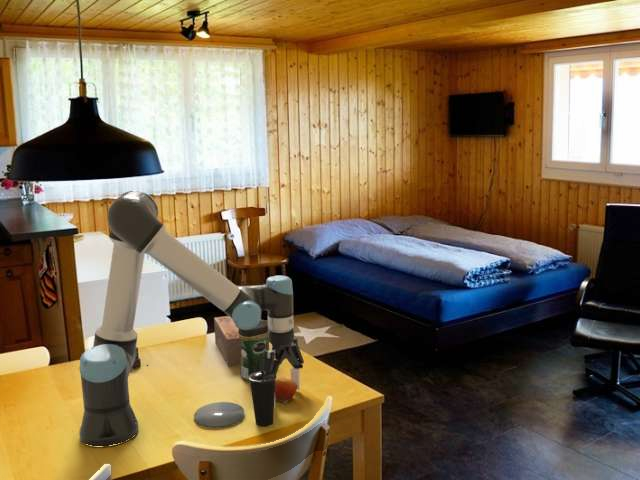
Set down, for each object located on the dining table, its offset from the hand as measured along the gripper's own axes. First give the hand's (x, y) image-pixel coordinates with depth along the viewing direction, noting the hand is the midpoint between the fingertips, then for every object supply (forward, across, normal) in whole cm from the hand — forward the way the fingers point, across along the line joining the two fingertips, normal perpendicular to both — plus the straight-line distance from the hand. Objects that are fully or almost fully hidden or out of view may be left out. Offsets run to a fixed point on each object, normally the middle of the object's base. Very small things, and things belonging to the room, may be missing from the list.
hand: (283, 397), depth 200 cm
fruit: (+1, 0, 0) cm, 1 cm away
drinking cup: (+1, -15, -4) cm, 16 cm away
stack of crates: (+2, -1, +63) cm, 63 cm away
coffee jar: (+1, +11, +18) cm, 21 cm away
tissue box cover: (+1, +27, +36) cm, 45 cm away
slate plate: (+1, -18, +10) cm, 21 cm away
